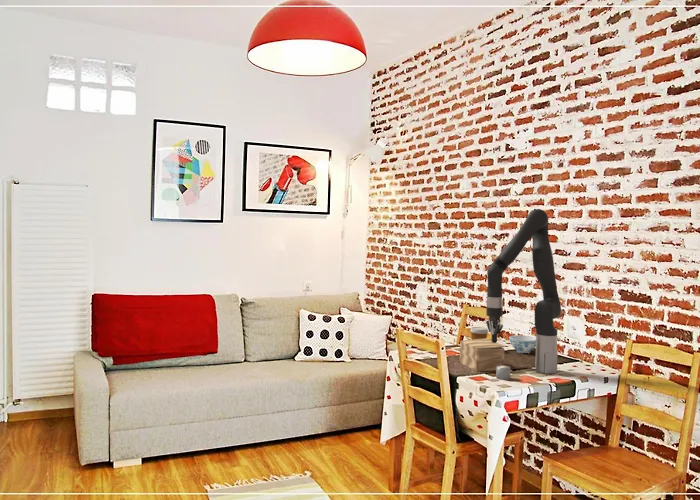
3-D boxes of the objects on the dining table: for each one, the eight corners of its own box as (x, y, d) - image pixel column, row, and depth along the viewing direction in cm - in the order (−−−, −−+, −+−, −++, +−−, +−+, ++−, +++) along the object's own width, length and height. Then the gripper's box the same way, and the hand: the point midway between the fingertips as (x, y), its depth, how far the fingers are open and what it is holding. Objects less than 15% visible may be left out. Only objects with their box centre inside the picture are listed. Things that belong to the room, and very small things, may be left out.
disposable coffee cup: (466, 350, 324) (466, 328, 323) (475, 348, 331) (476, 326, 330) (481, 353, 317) (482, 330, 317) (491, 350, 324) (491, 328, 324)
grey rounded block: (512, 379, 264) (513, 368, 263) (500, 380, 262) (500, 368, 262) (505, 376, 269) (506, 364, 269) (493, 376, 268) (494, 365, 268)
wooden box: (503, 369, 281) (504, 348, 281) (476, 371, 278) (476, 349, 277) (485, 361, 299) (486, 341, 298) (459, 362, 295) (460, 342, 295)
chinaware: (521, 356, 312) (521, 341, 311) (502, 350, 325) (503, 336, 325) (544, 354, 318) (544, 339, 317) (525, 348, 331) (525, 334, 331)
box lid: (504, 347, 281) (504, 345, 281) (476, 349, 277) (476, 348, 277) (486, 339, 298) (486, 338, 298) (460, 341, 295) (460, 340, 295)
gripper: (508, 307, 283) (508, 344, 284) (495, 304, 296) (494, 339, 297) (493, 308, 281) (493, 345, 282) (481, 304, 294) (480, 339, 295)
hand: (494, 342), depth 289 cm, fingers closed
